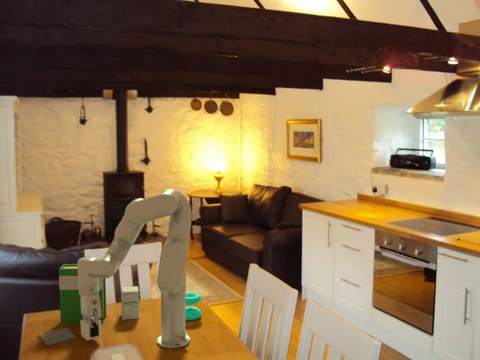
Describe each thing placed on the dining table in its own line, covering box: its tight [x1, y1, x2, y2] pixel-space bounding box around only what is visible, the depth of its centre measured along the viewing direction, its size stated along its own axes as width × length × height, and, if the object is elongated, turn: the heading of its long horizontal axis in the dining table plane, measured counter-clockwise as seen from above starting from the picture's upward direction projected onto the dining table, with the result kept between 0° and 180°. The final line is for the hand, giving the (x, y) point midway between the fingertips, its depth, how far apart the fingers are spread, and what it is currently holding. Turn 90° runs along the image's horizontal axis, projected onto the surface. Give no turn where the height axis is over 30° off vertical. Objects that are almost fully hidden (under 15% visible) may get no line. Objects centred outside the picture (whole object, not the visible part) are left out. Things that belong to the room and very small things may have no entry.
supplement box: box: [120, 285, 140, 321], centre depth 221 cm, size 7×7×13 cm
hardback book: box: [58, 263, 107, 325], centre depth 216 cm, size 18×7×24 cm, turn 94°
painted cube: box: [80, 317, 103, 341], centre depth 196 cm, size 6×6×6 cm
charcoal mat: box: [38, 327, 77, 347], centre depth 199 cm, size 11×11×1 cm
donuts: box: [185, 291, 202, 321], centre depth 222 cm, size 10×10×10 cm
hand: (91, 333), depth 196 cm, fingers closed on painted cube, 6 cm apart
